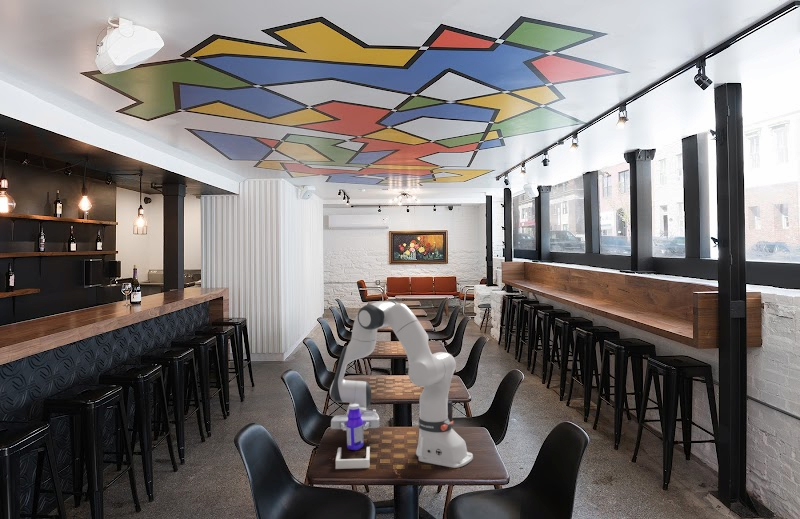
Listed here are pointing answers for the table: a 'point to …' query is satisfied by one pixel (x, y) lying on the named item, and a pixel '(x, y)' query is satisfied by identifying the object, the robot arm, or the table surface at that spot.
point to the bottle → (354, 428)
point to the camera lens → (450, 410)
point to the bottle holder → (352, 461)
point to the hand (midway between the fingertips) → (354, 428)
